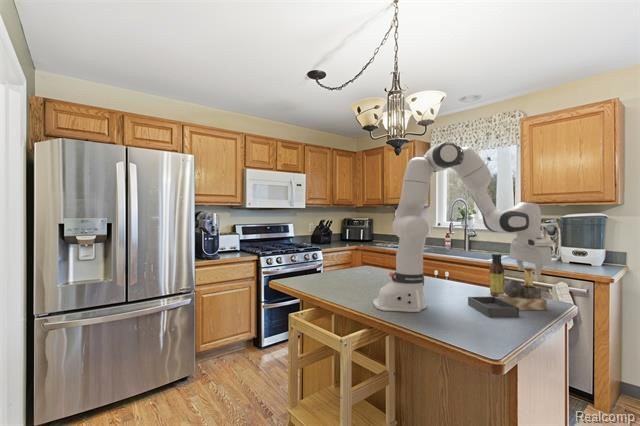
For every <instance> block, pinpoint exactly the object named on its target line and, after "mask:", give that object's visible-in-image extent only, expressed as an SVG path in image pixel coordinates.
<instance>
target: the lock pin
mask: <svg viewBox="0 0 640 426" xmlns="http://www.w3.org/2000/svg"><path fill="white" fill-rule="evenodd" d="M523 276H524V277H523V278H524V279H523V281H524V282H523V283H524V284H523V285H524V288H533V286H534V269H533V268H531V267H524V271H523Z"/></svg>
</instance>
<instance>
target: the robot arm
mask: <svg viewBox="0 0 640 426" xmlns="http://www.w3.org/2000/svg"><path fill="white" fill-rule="evenodd" d="M447 169H452V170H453V171H454V172H456V173H457V175H458V177H459V178H460V180H461V181H462V182H463V184H464V185H465V187H466V189H467V190H468V192H469V194H470V196H471V198H472V199H473V201H474V203H475V205H476V207H477V208H478V210H479V212H480V213H481V216H482V221H483V225H484V227H485V228H486V229H487V230H488V231H489V232H493V233H506V234H507V233H509V234H512V233H516V234H515V236H516V237H515V238H513V239H512V241H511V243H510V248H509V249H510V250H509V257H510V259H513V260H515V261H516V262H515V263H516V264H517V266H518V267H517V268H518V271H522V272H524V268H525V266H524V265H523V262H526V263H530V264H534V265H535V269H533V275H536V276H540V275H541V274H542V273H541V272H542V270H543V268H544V266H550V265H551V264H552V248H551V246H552V241H551V240H549V239H548V238H546V237H544V236H543V235H542V230H541V225H542V214H541V207H540V205H539V204H538V203H536V202H532V201H531V202H530V201H519V202H518V203H516V204H515V205H513V206H511V207H509V208H507V209H499V208H497V206H496V205H495V204H494V202H493V200H492V199H491V197H490V195H489V193H488V188H489V187H488V186H490V184H491V182H492V177H493V175H492V174H491V171H490V169H489V167H488V165H487V164H486V163H485V161H484V160H483V159H482V157H481V156H480V155H479V154H478V153H477V151H475V150H474V149H473V148H471V147H470V146H458V145H457V144H455V143H454V142H450V141H443V142H439V143H438V144H436V145H432V147H430V148H429V149H428V150H426V151H425V153H424V154H423V155H422V156H421V157H420V156H416V157H415V156H414V157H413V158H411V159H409V161H408V163H407V166H406V168H405V172H404V175H403V180H402V187H401V193H400V199H399V203H398V206H397V209H396V212H395V216H394V220H393V221H392V225H391V226H392V231H393V233H394V234H395V235H396V236H397V237H398V239H399V241H398V246H397V250H396V251H397V252H396V253H395V256H396V257H395V258H396V259H395V260H396V262H395V265H396V266H395V267H396V268H395V272H392V271H389V272H388V276H389V278H390V277H391V281H389V282H388V283H386V284H385V285H384V286H382V287H381V288H380V289H379V290H378V291H379V292H378V297H377V298H375V299H373V301H372V304H373V306H374V307H375V308H376V309H378V310H380V311H384V312H385V311H386V312H387V311H388V312H407V313H408V312H410V313H420V312H421V311H422V310H424V309H426V308H427V307H428V305H427V301H426V296H425V289H424V288H425V287H424V286H425V273H424V250H425V245H426V240H427V237H428V235H429V232H430V227H429V224H428V221H427V220H425V218H423V217H422V215H423V210H424V209H425V207H426V205H427V203H428V198H429V192H430V185H431V177H432V175H433V173H437V172H441V171H445V170H447Z"/></svg>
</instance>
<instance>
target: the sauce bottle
mask: <svg viewBox="0 0 640 426" xmlns="http://www.w3.org/2000/svg"><path fill="white" fill-rule="evenodd" d="M491 257H492V258H491V259H492V261H491V262H492V263H491V265H490V266H489V291H490V295H492V296H494V297H498V294H505V293H504V291H503V285H504V283H505V282H506V279H505V278H506V277H505V268H504V267H503V262H502V254H501V253H498V252H497V253H496V252H495V253H494V252H493V253H491Z"/></svg>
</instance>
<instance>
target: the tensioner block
mask: <svg viewBox="0 0 640 426" xmlns="http://www.w3.org/2000/svg"><path fill="white" fill-rule="evenodd" d="M503 291H504V294H498V296H497V298H499V299H501V300H503V301H505V302H508V303H510V304H512V305H514V306H516V307H518V308H519V311H533V310H535V311H536V310H541V311H543V310H547V307H548V306H547V305H548V304H547V301H548V300H547V299H546V298H543V297H542V289H541V288H540V287H537V286H534V285H533V288H524V284H521V283H520V282H519V281H517V280H514V279H508V280H505V283H504V285H503Z"/></svg>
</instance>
